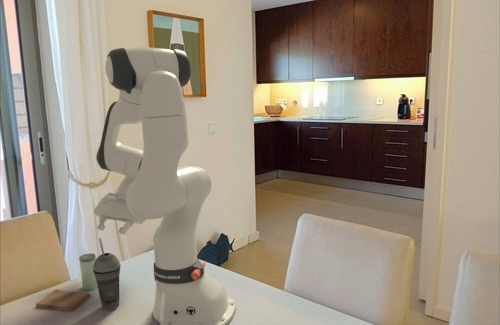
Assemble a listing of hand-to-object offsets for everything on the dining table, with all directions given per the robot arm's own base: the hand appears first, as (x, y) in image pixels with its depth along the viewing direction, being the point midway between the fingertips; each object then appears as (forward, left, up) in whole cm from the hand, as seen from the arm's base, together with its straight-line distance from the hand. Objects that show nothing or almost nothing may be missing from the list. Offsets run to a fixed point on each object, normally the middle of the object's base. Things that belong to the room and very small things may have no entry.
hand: (110, 231), depth 131 cm
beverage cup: (-11, +19, -15) cm, 26 cm away
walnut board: (+4, +19, -15) cm, 24 cm away
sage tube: (+2, +10, -15) cm, 18 cm away
